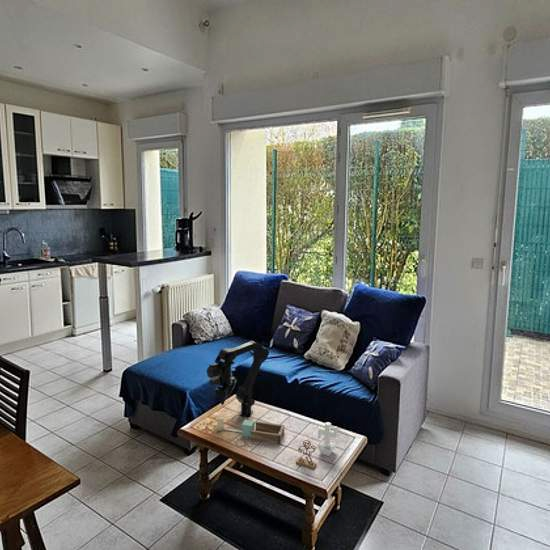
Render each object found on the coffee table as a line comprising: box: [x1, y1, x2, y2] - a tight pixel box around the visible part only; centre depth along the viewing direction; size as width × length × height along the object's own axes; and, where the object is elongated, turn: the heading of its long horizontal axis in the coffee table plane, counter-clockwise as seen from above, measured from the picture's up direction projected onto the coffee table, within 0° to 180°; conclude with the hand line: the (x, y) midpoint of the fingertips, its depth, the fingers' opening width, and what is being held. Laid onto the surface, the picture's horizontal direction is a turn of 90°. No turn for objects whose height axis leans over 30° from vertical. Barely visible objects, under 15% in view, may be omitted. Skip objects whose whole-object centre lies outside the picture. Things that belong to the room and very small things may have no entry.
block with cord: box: [216, 416, 255, 438], centre depth 216 cm, size 5×19×6 cm, turn 76°
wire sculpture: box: [295, 439, 317, 471], centre depth 190 cm, size 9×4×12 cm, turn 63°
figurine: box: [316, 421, 338, 457], centre depth 199 cm, size 7×9×15 cm
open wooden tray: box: [250, 420, 285, 445], centre depth 213 cm, size 10×15×4 cm
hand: (225, 400), depth 224 cm, fingers open, 9 cm apart
